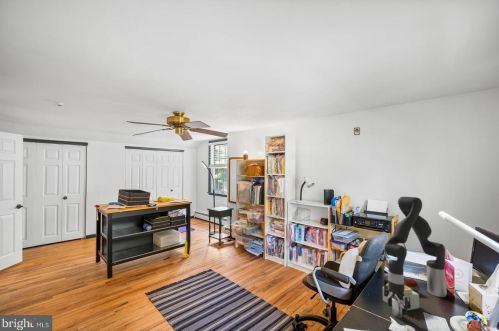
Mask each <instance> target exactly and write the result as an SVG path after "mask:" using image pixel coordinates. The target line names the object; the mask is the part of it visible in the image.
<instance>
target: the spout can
mask: <svg viewBox="0 0 499 331" xmlns="http://www.w3.org/2000/svg"><path fill="white" fill-rule="evenodd" d="M400 301H401V300H400ZM401 302H402V301H401ZM391 308H392V309H391V310H392V312H391V314H392V316H393V317H395V318H397V319H402V318H403V315H402V306H401V304H400V303H399V302H398V300H396V296H394V298H393V297H392V306H391Z"/></svg>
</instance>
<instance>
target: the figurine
mask: <svg viewBox="0 0 499 331" xmlns="http://www.w3.org/2000/svg"><path fill="white" fill-rule="evenodd" d="M383 284H384V286H386V284H388V278H384V279H383ZM404 285H405V286H407V287H409V288H410V289H412V291H414V292H416V293H418V292H419V291H420V286H419V283H418V282H417V281H416V280H415V279H413V278H411V277H410V278H406V277H405V276H404Z"/></svg>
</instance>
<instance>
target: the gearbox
mask: <svg viewBox="0 0 499 331" xmlns="http://www.w3.org/2000/svg"><path fill="white" fill-rule="evenodd" d="M386 285H388V284H386ZM404 289H405V290H404V295H405V296H406V297H410V305H411V309H407V311H411V310H417V309H420V294H419V293H418V292H414V291H412V289H410V288H409V287H407V286H405V285H404ZM386 294H387V293H386ZM389 294H390V291H389ZM391 299H392V298H391ZM382 301H383V302H385V303H386V304H388V299H387V297H386V296H384V286H382ZM401 301H402V300H401ZM403 305H404V304H403Z"/></svg>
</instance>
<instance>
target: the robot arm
mask: <svg viewBox="0 0 499 331" xmlns="http://www.w3.org/2000/svg"><path fill="white" fill-rule="evenodd" d="M397 204H398V207H399V210H400V211H401V213H402V214H403V215H404V216H405V217H404V218H403V219H402V220H400V221H399V222H398V223H397V224H396V225H395V227H394V230H393V234H392V235H391V236H390V238H389V239H388V240H387V242H386V243H385V244H384V247H383V248H384V253H385V255H387V256H390V257H393V258H396V260H394V259H391V260H389V261H388V267H387V268H388V273H387V280H388V285H386V286H385V285H384V286H383V287H384V296H386V297H387V299H388V303H387V305H388V307H392V299H391V298H392V297H393V298H394V296H396V300H398V302H399V303H400V304H401V306H402V316H407V314H408V310H407V309H411V305H410V297H406V296H405V295H404V290H405V289H404V277H405V276H404V266H405V265H404V264H405V261H406V258H407V254H408V251H407V249H406V247H405V246H403V245H399V244H406V243H407V241H408V238H409V235H410V231H411V229H412V230H413V232H414V234H415V236H416V237H417V239H418V241H419V244H420V246H421V249H422V251H423V252H424V254H425V255H428V256H431V257H435V258H436V259H429V260H427V261H426V282H427V283H426V284H427V285H426V288H427V289H426V290H427V293H429V294H430V295H432V296H435V297H439V298H446V296H447V294H448V293H447V280H446V268H445V266H446V246H444V244H442V243H439V242H434V241H430V240H429V238H430V236H431V235H432V232H433V231H432V228H431V225H430V224H429V222H428V221H427V220H426V219H425V218H424V217H422V216H421V215H420V213H421V211H422V209H423V200H422V199H421V198H420V197H416V196H401V197H399V198H398V200H397ZM389 291H390V294H389ZM386 293H387V294H386ZM400 300H402V302H401V301H400ZM403 304H404V305H403Z"/></svg>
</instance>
